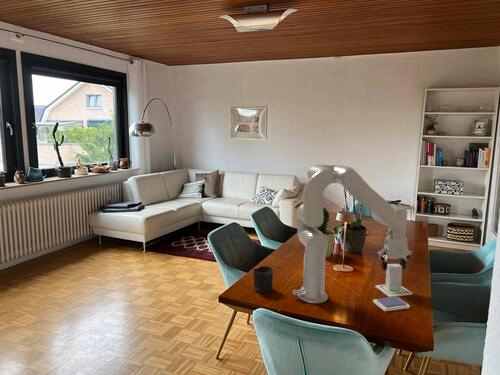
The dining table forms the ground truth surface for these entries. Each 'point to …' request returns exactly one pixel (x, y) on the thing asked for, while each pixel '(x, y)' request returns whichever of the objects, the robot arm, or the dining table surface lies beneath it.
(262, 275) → the pen holder
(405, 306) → the ink pad
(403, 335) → the dining table surface
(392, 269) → the skincare box
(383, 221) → the robot arm
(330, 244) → the potted cactus
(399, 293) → the print card
